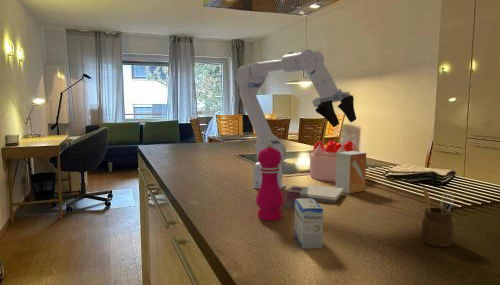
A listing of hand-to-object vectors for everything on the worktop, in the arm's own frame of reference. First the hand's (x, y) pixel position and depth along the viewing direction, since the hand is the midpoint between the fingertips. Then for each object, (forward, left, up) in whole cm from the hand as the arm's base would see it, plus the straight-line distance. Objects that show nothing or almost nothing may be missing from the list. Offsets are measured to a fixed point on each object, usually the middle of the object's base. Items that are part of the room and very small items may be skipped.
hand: (345, 123), depth 105 cm
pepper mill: (-15, -22, -24) cm, 36 cm away
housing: (-12, -9, -24) cm, 28 cm away
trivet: (-8, +3, -24) cm, 25 cm away
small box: (-1, +15, -24) cm, 28 cm away
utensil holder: (+24, -23, -24) cm, 41 cm away
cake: (-11, +35, -24) cm, 44 cm away
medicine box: (-1, -34, -24) cm, 42 cm away
